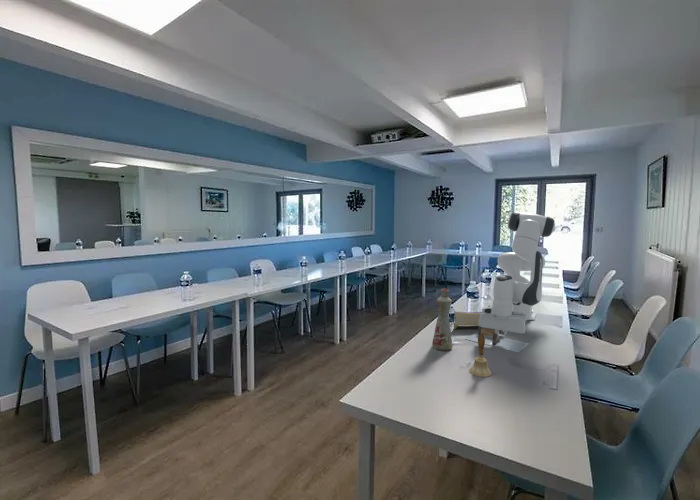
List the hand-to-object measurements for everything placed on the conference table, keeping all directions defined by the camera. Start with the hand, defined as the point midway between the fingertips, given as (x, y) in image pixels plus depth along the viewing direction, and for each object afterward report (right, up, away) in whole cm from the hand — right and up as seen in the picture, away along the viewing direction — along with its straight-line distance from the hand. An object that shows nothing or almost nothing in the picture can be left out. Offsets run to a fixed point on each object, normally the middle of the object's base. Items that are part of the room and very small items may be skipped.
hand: (500, 338), depth 170 cm
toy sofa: (-7, -1, +25) cm, 26 cm away
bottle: (-29, -3, -4) cm, 29 cm away
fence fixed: (-1, -2, +11) cm, 11 cm away
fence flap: (-1, -2, +3) cm, 4 cm away
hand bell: (-20, -6, -29) cm, 36 cm away
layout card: (0, -2, +4) cm, 5 cm away
